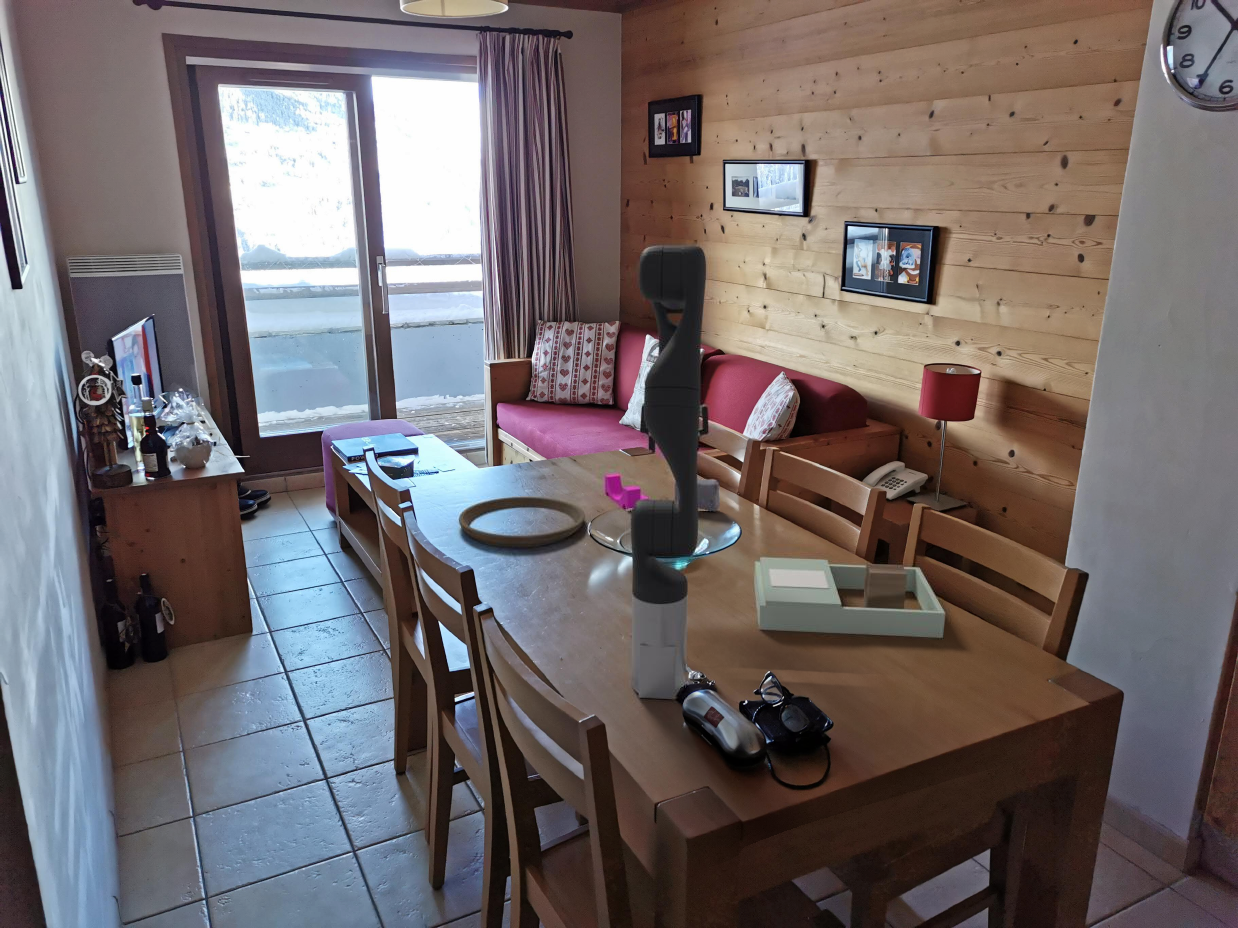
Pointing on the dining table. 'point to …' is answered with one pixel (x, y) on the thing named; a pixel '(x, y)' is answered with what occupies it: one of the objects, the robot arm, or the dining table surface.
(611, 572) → the dining table surface
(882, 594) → the wood block
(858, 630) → the box
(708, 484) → the stone block
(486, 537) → the brown flat ring
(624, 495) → the toy block
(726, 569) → the dining table surface
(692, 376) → the robot arm
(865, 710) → the dining table surface
